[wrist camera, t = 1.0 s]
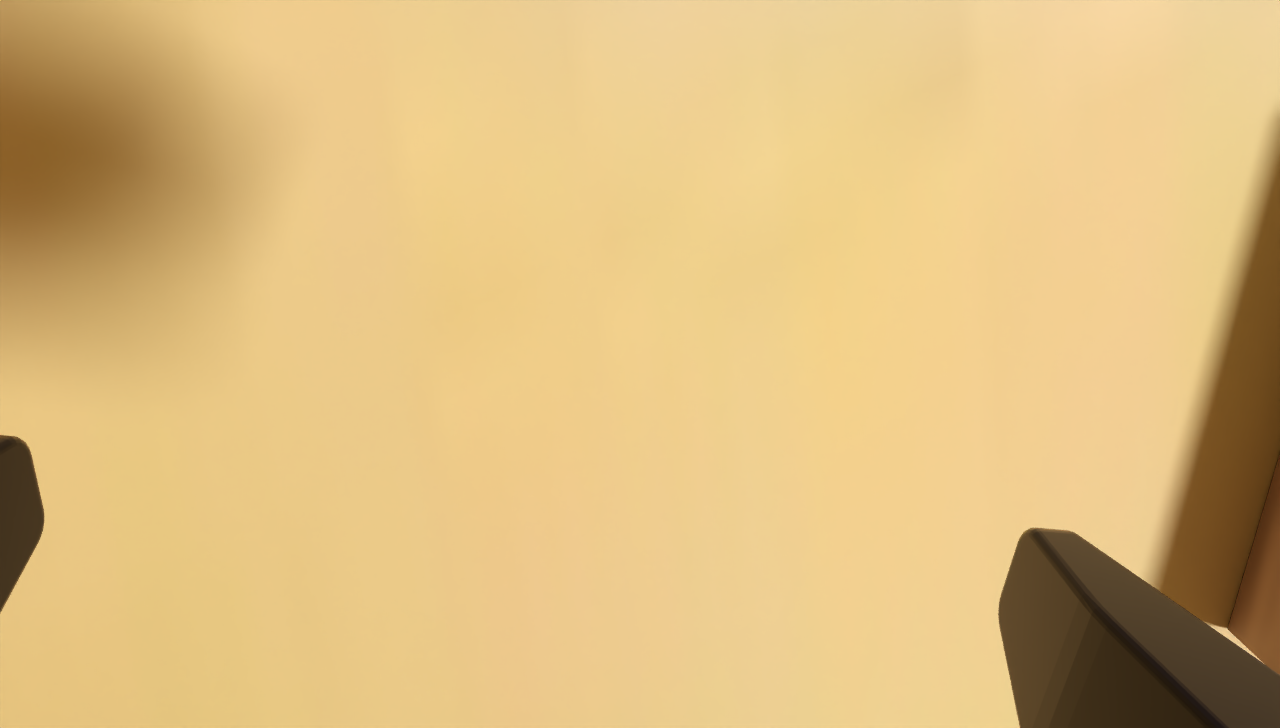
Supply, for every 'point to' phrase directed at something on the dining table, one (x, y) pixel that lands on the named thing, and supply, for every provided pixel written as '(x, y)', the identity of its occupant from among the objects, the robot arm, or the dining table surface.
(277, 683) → the dining table surface
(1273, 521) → the walnut base
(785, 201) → the dining table surface
